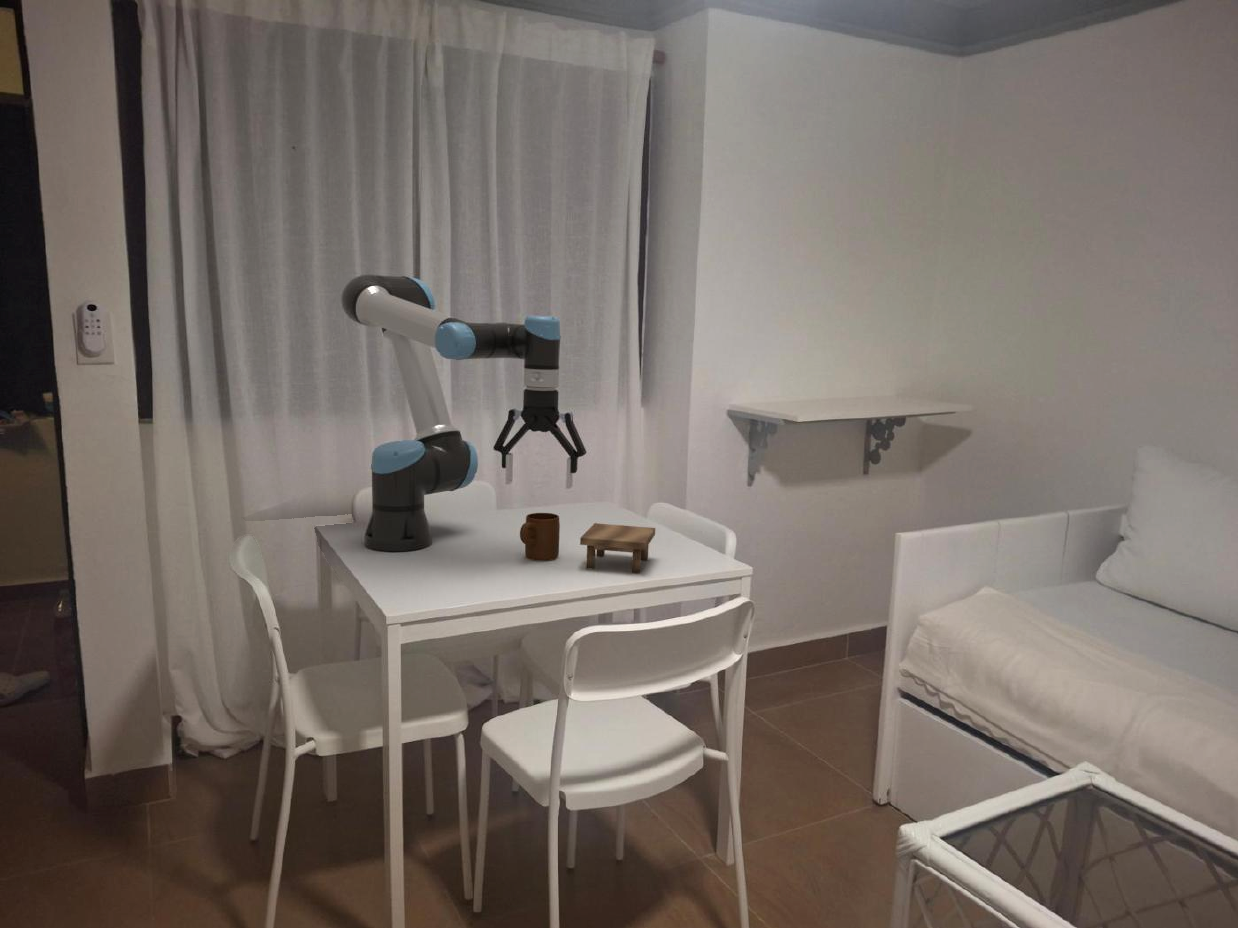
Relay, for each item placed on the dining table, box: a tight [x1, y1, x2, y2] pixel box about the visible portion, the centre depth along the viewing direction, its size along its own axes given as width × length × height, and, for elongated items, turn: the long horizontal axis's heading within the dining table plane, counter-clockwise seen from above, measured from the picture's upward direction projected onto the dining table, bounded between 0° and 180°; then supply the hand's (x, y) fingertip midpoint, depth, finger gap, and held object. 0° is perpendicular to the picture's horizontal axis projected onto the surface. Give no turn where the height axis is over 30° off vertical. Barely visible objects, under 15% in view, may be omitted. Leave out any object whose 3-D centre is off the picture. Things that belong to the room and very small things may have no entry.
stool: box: [579, 522, 656, 574], centre depth 198 cm, size 14×14×7 cm
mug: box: [519, 512, 561, 562], centre depth 199 cm, size 12×8×9 cm, turn 152°
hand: (538, 485), depth 198 cm, fingers open, 13 cm apart
